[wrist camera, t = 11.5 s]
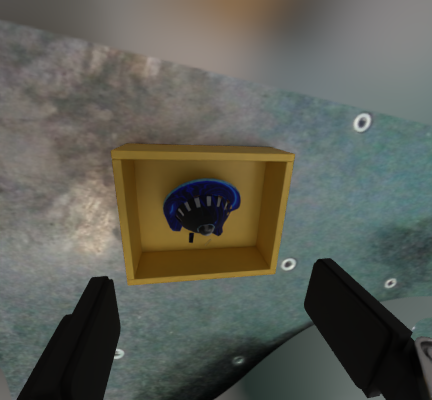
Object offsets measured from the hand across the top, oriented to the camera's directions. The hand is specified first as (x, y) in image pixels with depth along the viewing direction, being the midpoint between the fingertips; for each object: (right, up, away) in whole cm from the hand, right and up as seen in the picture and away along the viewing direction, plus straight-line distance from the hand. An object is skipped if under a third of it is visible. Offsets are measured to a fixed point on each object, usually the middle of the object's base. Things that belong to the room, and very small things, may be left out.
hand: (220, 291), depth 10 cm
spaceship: (-2, +4, +11) cm, 12 cm away
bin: (-2, +4, +11) cm, 12 cm away
